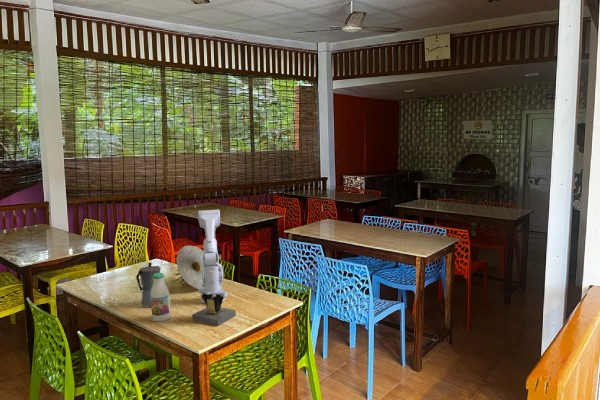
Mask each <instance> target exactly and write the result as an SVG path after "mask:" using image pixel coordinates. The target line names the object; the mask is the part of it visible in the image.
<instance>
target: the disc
mask: <svg viewBox="0 0 600 400" xmlns="http://www.w3.org/2000/svg"><path fill="white" fill-rule="evenodd" d="M203 256H204V249H201V248H199V247H197V246H194V245H185V246H183V247H181V249H179V251H178V253H177V256H176V265H177V266H176V267H177V269H176V271H177V273H173V274H172V275H173V276H174V277H177V276H179V277H178V278H176V279H175V280H173V281H171V283H174V282H176V281H178V280H179V281H180V279H181V281H180V282H179V284H181V286H182V287H181V289H183V288H184V286H187V284H188V285H190V286H191V287H193V288H194V289H197V290H198V288H200V287H201V286H202V284H203V281H202V268H203Z"/></svg>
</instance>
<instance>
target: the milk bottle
mask: <svg viewBox="0 0 600 400" xmlns="http://www.w3.org/2000/svg"><path fill="white" fill-rule="evenodd" d="M153 280H154V283H153V287H152V289H151V307H150V308H151V317H152V320H153V321H154V320H155V321H154V322H164V321H168V320H169V319H171V317H172V315H171V314H172V313H171V302H170V301H171V300H170V292H169V288H168V286H167V284H166V283H165V273H164V272H160V273H155V274H153Z"/></svg>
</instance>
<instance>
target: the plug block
mask: <svg viewBox="0 0 600 400" xmlns="http://www.w3.org/2000/svg"><path fill="white" fill-rule="evenodd" d="M213 297H214V296H213ZM213 297H211V298H209V299H207V306H206V307H207V309H208V314H209V315H214V316H215V315H217V314H219V313H221V308H222V307H221V308H220V311H219V312H216V310H215V303H214V300H213Z"/></svg>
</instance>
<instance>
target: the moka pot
mask: <svg viewBox="0 0 600 400" xmlns="http://www.w3.org/2000/svg"><path fill="white" fill-rule="evenodd" d="M152 264H153V263H152V262H148V264H147V265H148V266H143V267H141V268H140V269H139V270H138V271H137V275H136V277H135V279H136V281H137V284H138V289H139V290H140V291H142V294H141V295H142V296H141V303H140V305H141V306H142V305H143V306H142V307H144V306H147V307H146V308H151V289H152V287H153V283H154V280H153V274H155V273H161V267H160V266H159V265H153V266H152ZM139 277H140V278H139ZM140 281H141V282H140Z"/></svg>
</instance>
